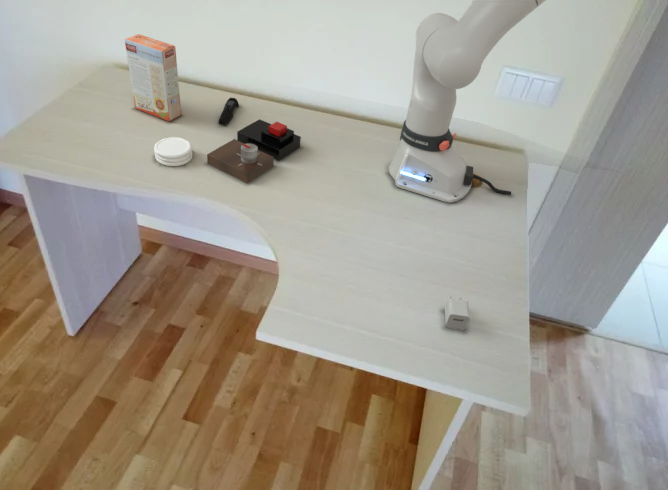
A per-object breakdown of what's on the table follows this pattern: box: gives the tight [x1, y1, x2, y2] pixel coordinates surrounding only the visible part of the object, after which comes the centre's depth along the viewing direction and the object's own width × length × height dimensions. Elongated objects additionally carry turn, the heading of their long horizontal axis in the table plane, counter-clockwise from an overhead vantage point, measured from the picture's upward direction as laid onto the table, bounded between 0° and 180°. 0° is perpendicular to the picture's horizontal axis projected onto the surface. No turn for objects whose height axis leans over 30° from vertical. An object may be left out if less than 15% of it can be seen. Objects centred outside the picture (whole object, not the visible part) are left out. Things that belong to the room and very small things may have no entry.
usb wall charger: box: [444, 295, 471, 331], centre depth 108 cm, size 4×7×4 cm, turn 171°
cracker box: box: [124, 33, 182, 122], centre depth 156 cm, size 14×6×21 cm, turn 58°
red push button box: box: [236, 119, 302, 162], centre depth 151 cm, size 15×10×6 cm, turn 54°
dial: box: [241, 144, 258, 164], centre depth 140 cm, size 4×4×4 cm
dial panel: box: [206, 138, 275, 184], centre depth 144 cm, size 14×11×3 cm
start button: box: [269, 121, 288, 136], centre depth 148 cm, size 4×4×2 cm
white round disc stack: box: [153, 136, 194, 167], centre depth 144 cm, size 10×10×4 cm
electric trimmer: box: [217, 97, 239, 126], centre depth 163 cm, size 4×16×3 cm, turn 171°
